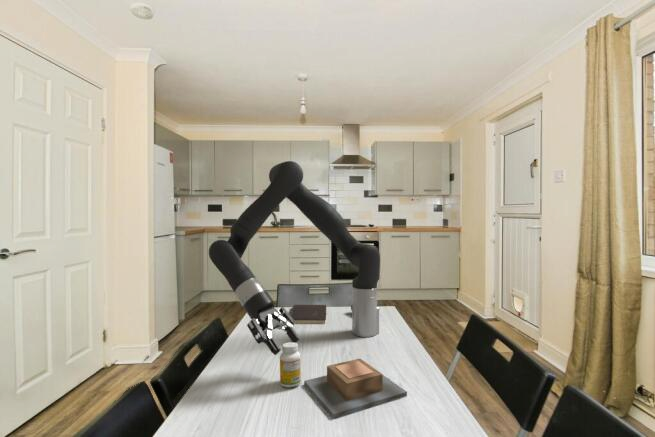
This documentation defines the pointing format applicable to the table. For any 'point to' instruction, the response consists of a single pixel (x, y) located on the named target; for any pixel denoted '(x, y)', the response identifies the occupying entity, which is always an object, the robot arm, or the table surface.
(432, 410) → the table surface
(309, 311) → the hardcover book
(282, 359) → the supplement bottle
